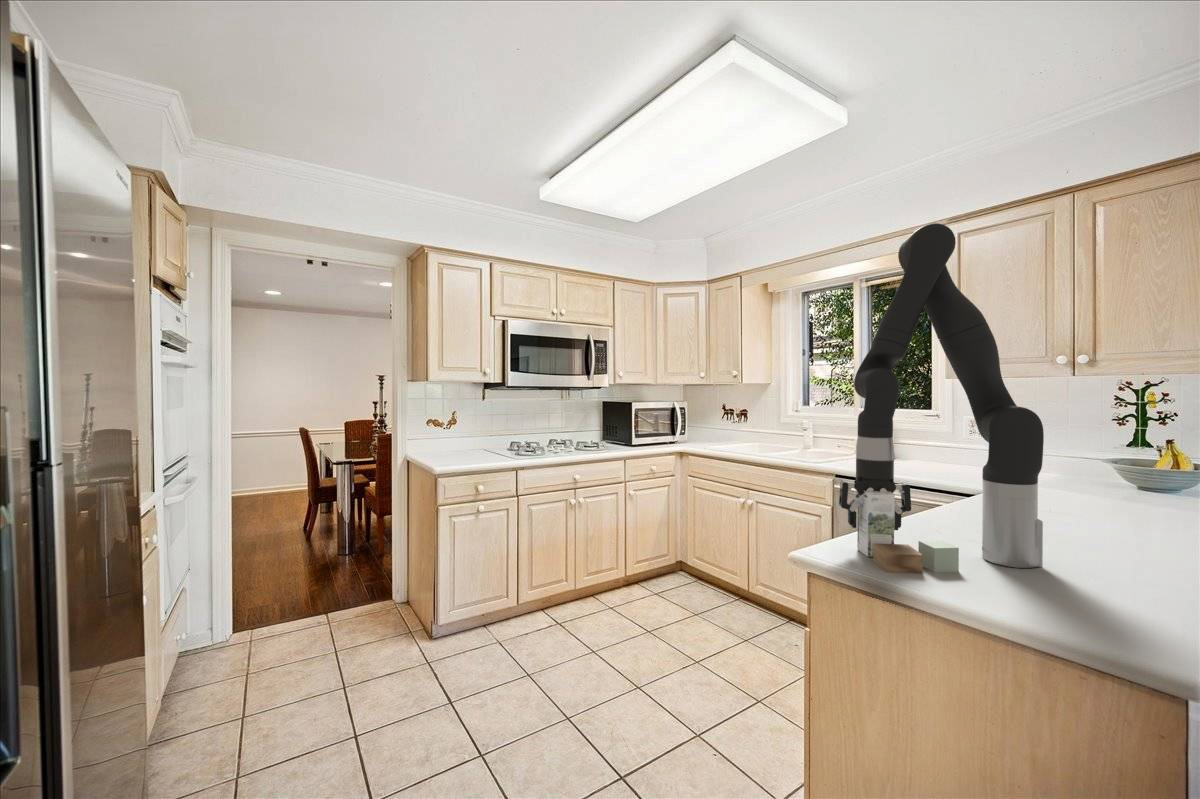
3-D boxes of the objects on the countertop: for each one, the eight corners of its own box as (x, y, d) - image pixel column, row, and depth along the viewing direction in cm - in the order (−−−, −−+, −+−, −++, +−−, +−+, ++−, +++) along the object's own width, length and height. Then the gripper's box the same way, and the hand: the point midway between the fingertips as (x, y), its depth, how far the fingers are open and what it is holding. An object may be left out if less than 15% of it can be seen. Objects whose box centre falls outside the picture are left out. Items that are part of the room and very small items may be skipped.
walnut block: (908, 563, 110) (908, 544, 110) (922, 574, 103) (922, 555, 103) (873, 561, 111) (873, 543, 111) (885, 573, 105) (885, 553, 104)
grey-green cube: (941, 563, 109) (941, 540, 109) (958, 572, 104) (958, 547, 104) (918, 564, 109) (918, 540, 109) (934, 572, 104) (934, 548, 104)
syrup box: (882, 550, 118) (882, 487, 118) (895, 558, 112) (894, 492, 112) (857, 549, 119) (856, 487, 119) (867, 558, 113) (867, 492, 113)
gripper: (904, 455, 117) (903, 525, 118) (837, 453, 121) (836, 522, 121) (916, 460, 110) (915, 535, 110) (844, 458, 113) (843, 530, 114)
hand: (873, 528), depth 116 cm, fingers open, 8 cm apart
